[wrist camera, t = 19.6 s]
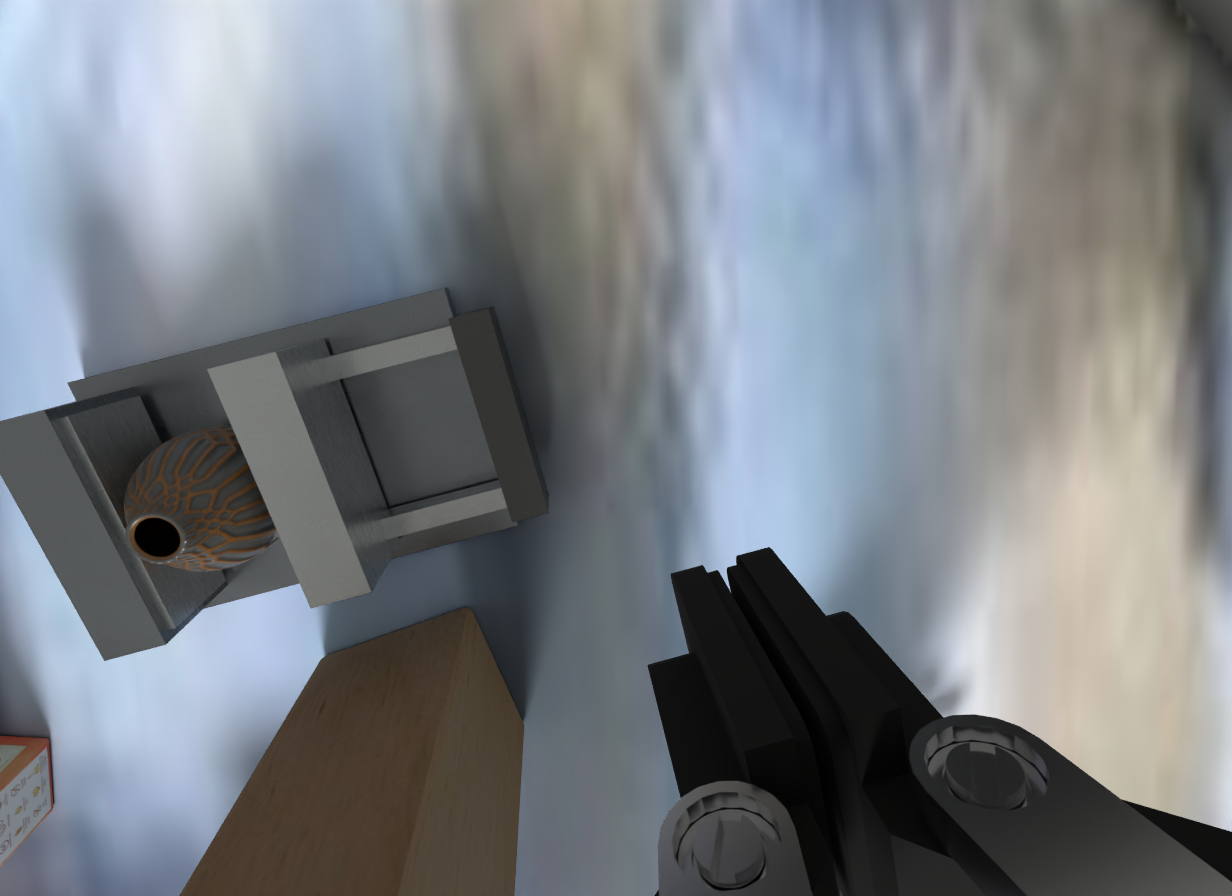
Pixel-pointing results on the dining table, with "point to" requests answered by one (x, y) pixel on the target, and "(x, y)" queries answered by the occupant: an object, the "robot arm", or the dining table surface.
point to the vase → (197, 504)
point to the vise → (187, 400)
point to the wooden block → (383, 778)
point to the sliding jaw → (338, 462)
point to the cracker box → (23, 789)
